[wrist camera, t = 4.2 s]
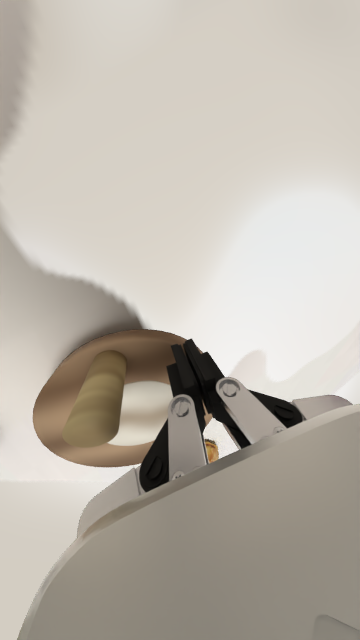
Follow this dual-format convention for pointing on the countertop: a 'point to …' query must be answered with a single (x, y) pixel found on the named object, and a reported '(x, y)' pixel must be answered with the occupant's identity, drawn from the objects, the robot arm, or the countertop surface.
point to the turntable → (108, 399)
